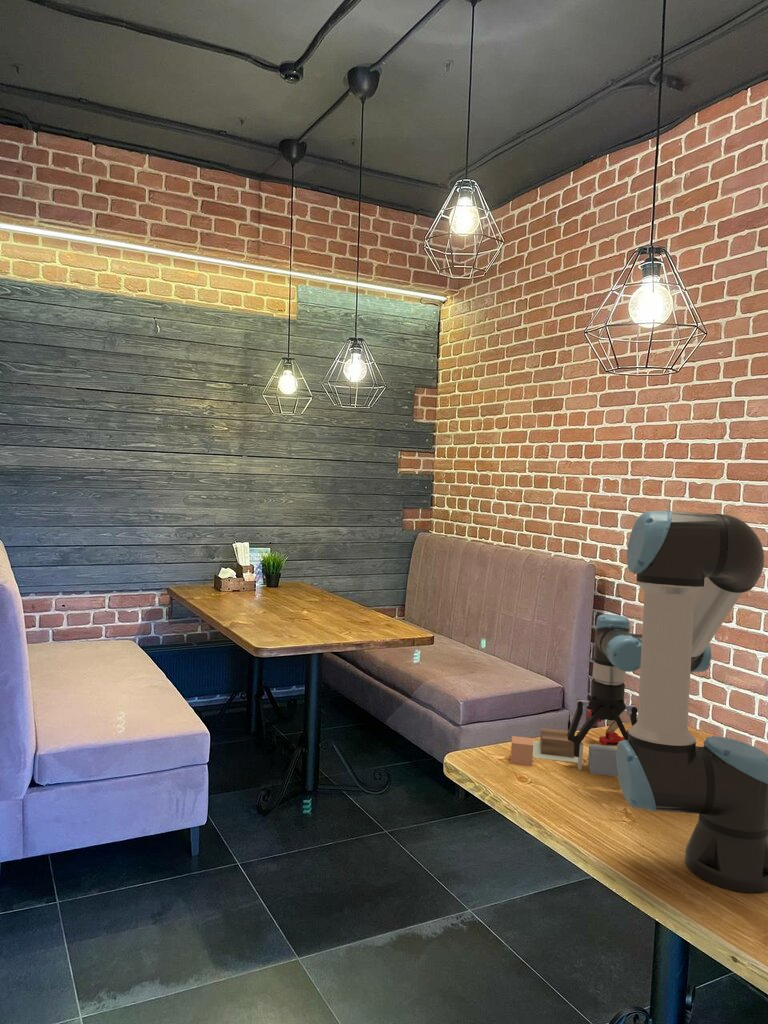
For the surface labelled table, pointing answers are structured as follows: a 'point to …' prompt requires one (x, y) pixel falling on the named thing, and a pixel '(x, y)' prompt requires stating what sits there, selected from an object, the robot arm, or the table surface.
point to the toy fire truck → (610, 733)
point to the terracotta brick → (521, 750)
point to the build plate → (543, 756)
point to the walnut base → (556, 743)
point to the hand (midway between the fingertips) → (601, 772)
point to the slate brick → (602, 760)
